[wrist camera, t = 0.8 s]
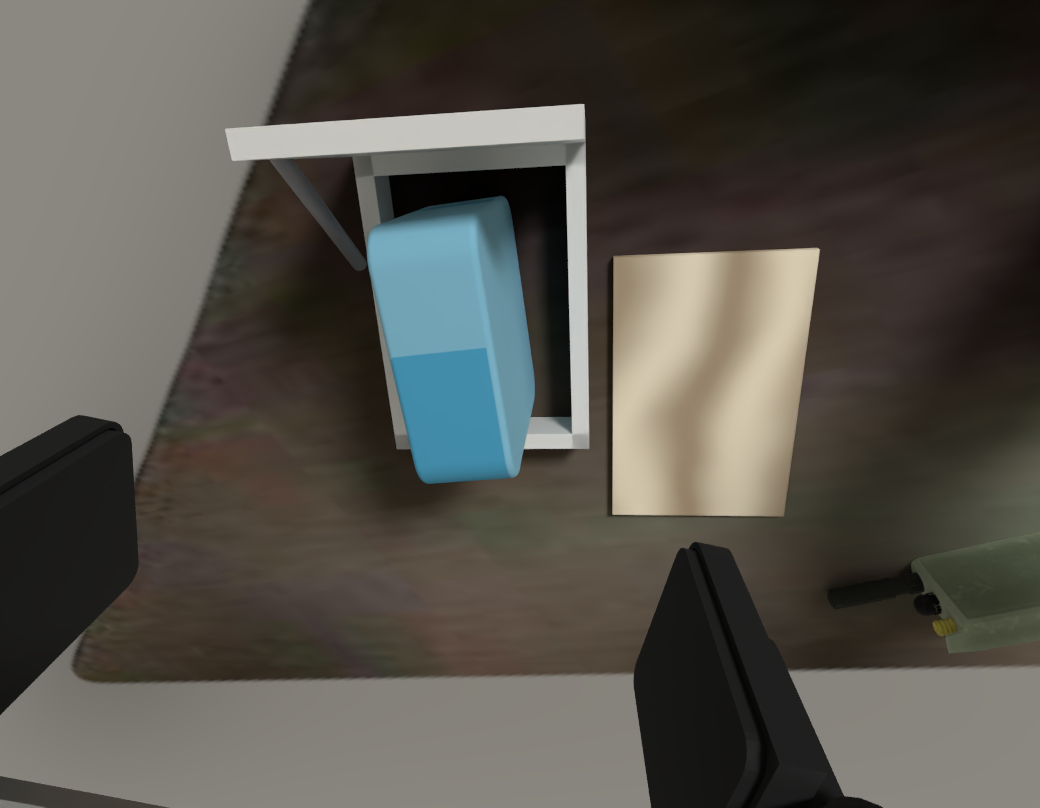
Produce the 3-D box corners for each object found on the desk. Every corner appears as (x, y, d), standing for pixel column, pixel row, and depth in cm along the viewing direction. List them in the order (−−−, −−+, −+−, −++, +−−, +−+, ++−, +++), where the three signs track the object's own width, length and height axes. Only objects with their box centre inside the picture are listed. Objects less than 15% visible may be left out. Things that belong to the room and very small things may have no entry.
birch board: (816, 248, 33) (819, 249, 32) (781, 512, 39) (783, 516, 39) (613, 256, 34) (613, 257, 34) (612, 510, 41) (612, 514, 40)
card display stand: (585, 122, 32) (584, 104, 19) (588, 430, 38) (590, 571, 26) (350, 137, 33) (200, 130, 20) (394, 432, 40) (304, 565, 27)
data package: (430, 204, 34) (357, 230, 23) (509, 193, 33) (471, 214, 22) (467, 398, 39) (420, 497, 28) (536, 391, 38) (516, 491, 27)
